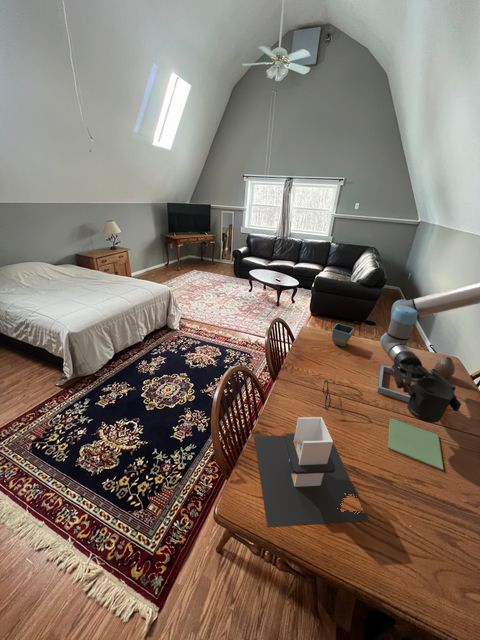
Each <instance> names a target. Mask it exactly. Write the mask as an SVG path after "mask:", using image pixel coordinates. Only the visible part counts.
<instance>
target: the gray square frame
mask: <svg viewBox="0 0 480 640" xmlns="http://www.w3.org/2000/svg"><path fill="white" fill-rule="evenodd" d="M391 368H392V366H387V365H384V364H381V365H380V368H379V373H378V374H379V375H378V383H377V390H376V393H378V394H381V395H384V396H387V397H390V398H393V399H397V400H399V401H403V402H405V403H408V402H409V399H410V395H409V394H407V393H402V392H399V391H396V390H392V389H389V388H387V387H383V378H384V373H386V374H390V375H393V373H392V372H391ZM401 375H402V378H403V379H405V374H402V373H401ZM416 380H418V379H417V378H411V381H413V382H415V381H416Z"/></svg>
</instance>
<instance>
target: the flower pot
mask: <svg viewBox="0 0 480 640" xmlns="http://www.w3.org/2000/svg"><path fill="white" fill-rule="evenodd" d="M354 330H355V327H353V326H349V325H346V324H342V323H336V324H335V325H334V326H333V328H332V329H331V339H332V343H333V344H334V345H337V346H339V347H346V345H347V344H348V342H349V341H350V340H351V338H352V336H353V333H354Z"/></svg>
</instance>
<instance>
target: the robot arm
mask: <svg viewBox="0 0 480 640" xmlns="http://www.w3.org/2000/svg"><path fill="white" fill-rule="evenodd" d="M479 304H480V281H476V282H473V283H469V284H465V285H460V286H457V287H454V288H450V289H447V290H443V291H439V292H436V293H431V294H428V295H424V296H421V297H420V296H419V297H417V298H413V299H408V300H407V299H397V300H396V301H395V302H394V303H393V304H392V306H391V309H390V322H389V326H388V330H387V332H385V333H383V335H381V336H380V339H379V344H380V345H381V347H382V350H383V351H384V352H385V353H386V355H387V356H388V357H389V359H390V361H391V362H392V363H393V364H392V365H391V372H392V373H393V374H392V375H393V378H394V381H395V385H396V388H397V389H402V392H404V394H407V395H409V396H411V397H413V399H414V400H415V402H416V403H417V405H418V406H419V407H422V405H423V403H424V401H425V399H424V398H423V396H422V395H421V393H420V392H419V391H417V389H416V388H415V385H414V384H412V380H411V378H417V379H421V378H424V377H431V378H435V379H438V380H440V381H442V382H444V383H446V384H447V385H449V386H450V387H451V388H452V389H453V391H454V392H455V391H456V389H457V387H456V385H454V384H452V383H451V382H450V381H449V380H447V378H444V377H442V376H441V375H440V374H439V373H438V372H437V371H436V370H435V369H434V368H432V369H431V370H429V369H427V368H426V367H424V366H423V364H422V361H421V359H420V358H419V357H418V356H417V355H416V353H415V352H414V351H413V350H412V348H410V346H409V345H408V343H409V341H410V339H411V335H412V332H413V330H414V327H415V324H416V322H417V319H418V318H422V317H427V316H431V315H434V314H439V313H443V312H449V311H453V310H457V309H461V308H465V307H470V306H474V305H479ZM401 373H402V374H405V378H404V377H402V375H401ZM449 406H450V408H451V409H452V410H453V411H454V412H458V411H459V410H460V408H461V406H462V403H461V402H460V401H459V400H458V398H457V396H456V395H455V394H454V397H453V399H452V400H451V402H450V404H449Z"/></svg>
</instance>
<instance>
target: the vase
mask: <svg viewBox="0 0 480 640" xmlns="http://www.w3.org/2000/svg"><path fill="white" fill-rule="evenodd" d="M433 369H435V370H436V371H437V372H438V373H439V374H440V375H441V376H442V377H444V378H445V379H449V378H451V377H452V376H453V375H455V374H454V373H455V371H456V367H455V364H454V361H453V359H452V358H451V357H448V356H447V357H444V358H442V359H440V360H438V361H437V362H436V363H435V365H434V368H433Z"/></svg>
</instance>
